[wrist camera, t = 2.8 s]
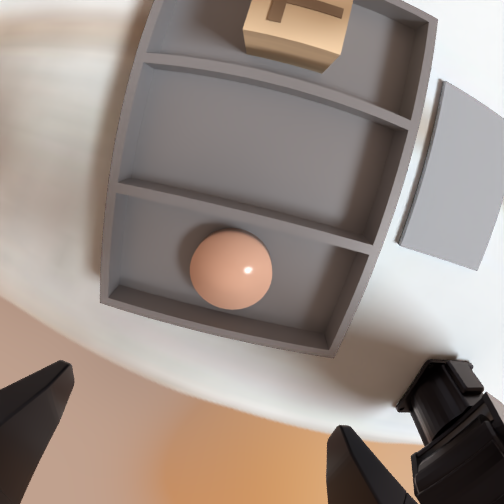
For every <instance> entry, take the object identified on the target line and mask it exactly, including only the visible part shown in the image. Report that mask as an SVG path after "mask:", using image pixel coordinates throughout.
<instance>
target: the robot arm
mask: <svg viewBox="0 0 504 504" xmlns="http://www.w3.org/2000/svg"><path fill="white" fill-rule="evenodd" d="M472 369H473V365H472V364H471V363H468V362H463V361H451V360H449V361H444V360H433V359H431V360H428V361H427V362H426V363H425V365H424V366H423V368H422V369H421V371H420V373H419V374H418V376H417V377H416V379H415V380H414V382H413V383H412V385H411V386H410V388H409V389H408V391H407V392H406V394H405V395H404V396H403V398H402V399H401V401H400V402H399V404H398V405H397V406H396V409H397V411H398V412H410V413H411V416H412V418H413V420H414V423H415V425H416V427H417V429H418V432H419V434H420V437H421V439H422V441H423V444H424V446H425V447H424V448H422V449H421V450H420V451H418V452H416V453H414V454H413V455H411V461H412V472H413V483H414V494H415V496H416V497H417V499H418V501H419V502H420V504H504V405H503V404H502V403H501V402H500V401H499V400H497V399H496V398H494V397H493V396H492V395H490V394H489V393H488V392H485V393H484V394H483V393H482V392H483V391H484V387H483V385H482V384H481V382H480V381H479V379H478V378H477V377H476V375H475V374H474V373H473V371H472ZM73 386H74V375H73V369H72V365H71V364H70V363H68V362H65V361H63V360H59V361H57V362H55V363H53V364H51V365H49V366H47V367H45V368H43V369H41V370H39V371H37V372H35V373H33V374H31V375H29V376H27V377H25V378H23V379H21V380H19V381H17V382H15V383H13V384H11V385H9V386H7V387H5V388H3V389H1V390H0V504H20V503H21V500H22V498H23V496H24V493H25V491H26V489H27V487H28V485H29V482H30V480H31V478H32V475H33V474H34V471H35V469H36V467H37V465H38V463H39V461H40V459H41V457H42V455H43V453H44V451H45V449H46V447H47V445H48V443H49V441H50V439H51V437H52V435H53V433H54V431H55V429H56V427H57V425H58V424H59V422H60V419H61V417H62V414H63V412H64V409H65V406H66V404H67V401H68V399H69V396H70V394H71V391H72V389H73ZM326 483H327V495H328V504H418V503H417V502H416V501H415V500H414V499H413V498H411V496H410V495H409V494H408V493H406V490H405V489H404V488H403V487H402V486H401V485H400V484H399V482H398V481H397V480H396V479H395V478H394V477H393V476H392V474H391V473H390V472H389V471H388V470H387V469H386V468H385V466H384V465H383V464H382V463H381V462H380V461H379V460H378V458H377V457H376V456H375V455H374V454H373V452H372V451H371V450H370V449H369V448H368V447H367V446H366V444H365V443H364V442H363V441H362V439H361V438H360V437H359V436H358V435H357V434H356V432H355V431H354V430H353V429H352V428H351V427H350V426H347V425H339V426H337V427H336V429H335V430H334V431H333V433H332V434H331V436H330V437H329V439H328V442H327V469H326Z"/></svg>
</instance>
